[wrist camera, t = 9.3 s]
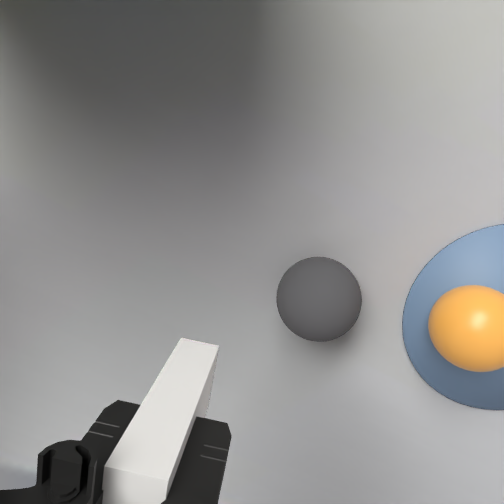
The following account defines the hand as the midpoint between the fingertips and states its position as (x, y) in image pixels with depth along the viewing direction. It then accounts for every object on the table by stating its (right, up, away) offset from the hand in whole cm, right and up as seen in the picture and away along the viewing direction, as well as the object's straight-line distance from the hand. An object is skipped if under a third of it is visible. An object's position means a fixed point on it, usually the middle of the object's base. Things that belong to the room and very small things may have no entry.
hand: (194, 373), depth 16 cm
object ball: (+17, 0, +10) cm, 20 cm away
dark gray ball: (+7, +2, +11) cm, 13 cm away
